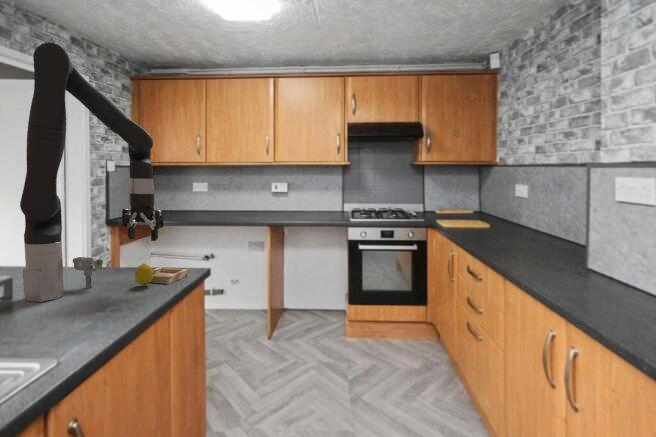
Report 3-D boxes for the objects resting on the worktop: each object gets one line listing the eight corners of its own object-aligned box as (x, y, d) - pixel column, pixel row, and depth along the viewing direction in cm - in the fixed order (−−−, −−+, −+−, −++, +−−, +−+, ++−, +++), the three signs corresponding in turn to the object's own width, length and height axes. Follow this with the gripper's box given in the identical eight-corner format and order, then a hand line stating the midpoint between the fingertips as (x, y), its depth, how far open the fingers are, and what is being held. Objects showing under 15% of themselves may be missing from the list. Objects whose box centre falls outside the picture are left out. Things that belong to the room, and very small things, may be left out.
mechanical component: (98, 290, 131) (97, 260, 129) (72, 287, 133) (70, 258, 132) (105, 287, 133) (104, 258, 132) (79, 285, 135) (78, 256, 134)
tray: (168, 283, 140) (168, 277, 140) (139, 281, 142) (138, 274, 142) (188, 275, 152) (187, 269, 151) (160, 273, 154) (160, 267, 154)
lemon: (135, 289, 133) (135, 265, 132) (135, 285, 138) (134, 262, 137) (153, 287, 135) (153, 264, 134) (152, 283, 140) (152, 261, 139)
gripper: (115, 191, 131) (116, 240, 133) (153, 193, 128) (154, 243, 129) (131, 191, 138) (132, 237, 140) (167, 192, 135) (168, 239, 137)
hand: (143, 239), depth 135 cm, fingers open, 8 cm apart
